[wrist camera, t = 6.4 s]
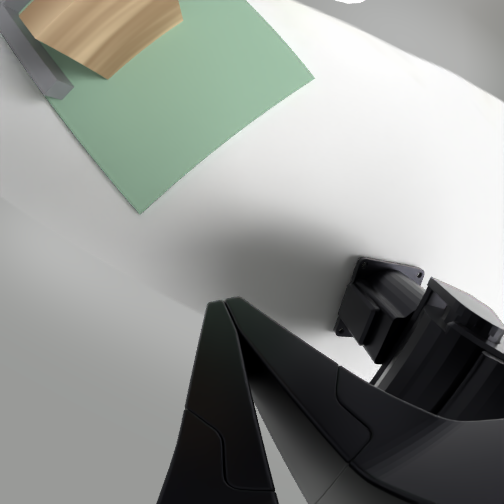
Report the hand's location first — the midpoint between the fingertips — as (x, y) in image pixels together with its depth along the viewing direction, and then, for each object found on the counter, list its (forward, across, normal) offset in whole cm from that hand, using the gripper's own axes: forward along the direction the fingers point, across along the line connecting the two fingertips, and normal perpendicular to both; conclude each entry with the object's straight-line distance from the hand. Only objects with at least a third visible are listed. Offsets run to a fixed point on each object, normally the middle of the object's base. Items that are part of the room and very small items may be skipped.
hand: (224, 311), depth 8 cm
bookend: (+16, +4, -13) cm, 21 cm away
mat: (+15, +3, -11) cm, 19 cm away
